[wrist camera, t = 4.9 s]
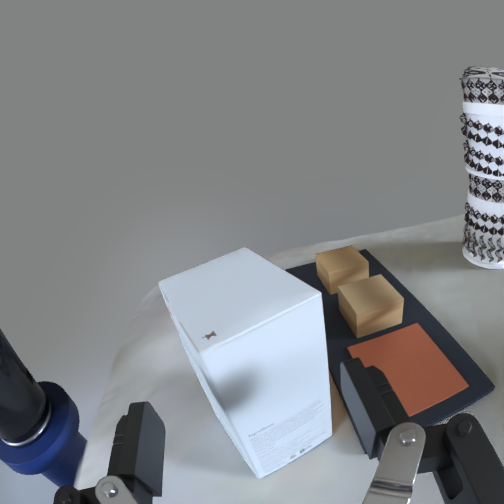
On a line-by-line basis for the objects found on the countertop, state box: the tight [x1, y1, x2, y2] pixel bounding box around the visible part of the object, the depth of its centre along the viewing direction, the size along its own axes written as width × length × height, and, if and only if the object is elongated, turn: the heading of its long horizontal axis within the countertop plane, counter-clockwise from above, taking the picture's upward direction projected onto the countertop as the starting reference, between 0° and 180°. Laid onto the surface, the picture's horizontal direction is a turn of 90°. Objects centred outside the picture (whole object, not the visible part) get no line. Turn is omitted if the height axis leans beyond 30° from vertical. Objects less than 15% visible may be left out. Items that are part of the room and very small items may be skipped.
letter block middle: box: [338, 274, 404, 338], centre depth 29 cm, size 5×5×3 cm
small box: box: [159, 247, 332, 479], centre depth 19 cm, size 8×6×13 cm
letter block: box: [315, 245, 369, 295], centre depth 36 cm, size 5×5×3 cm
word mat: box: [285, 249, 495, 454], centre depth 30 cm, size 12×28×1 cm, turn 7°
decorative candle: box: [460, 66, 504, 269], centre depth 29 cm, size 9×9×25 cm
